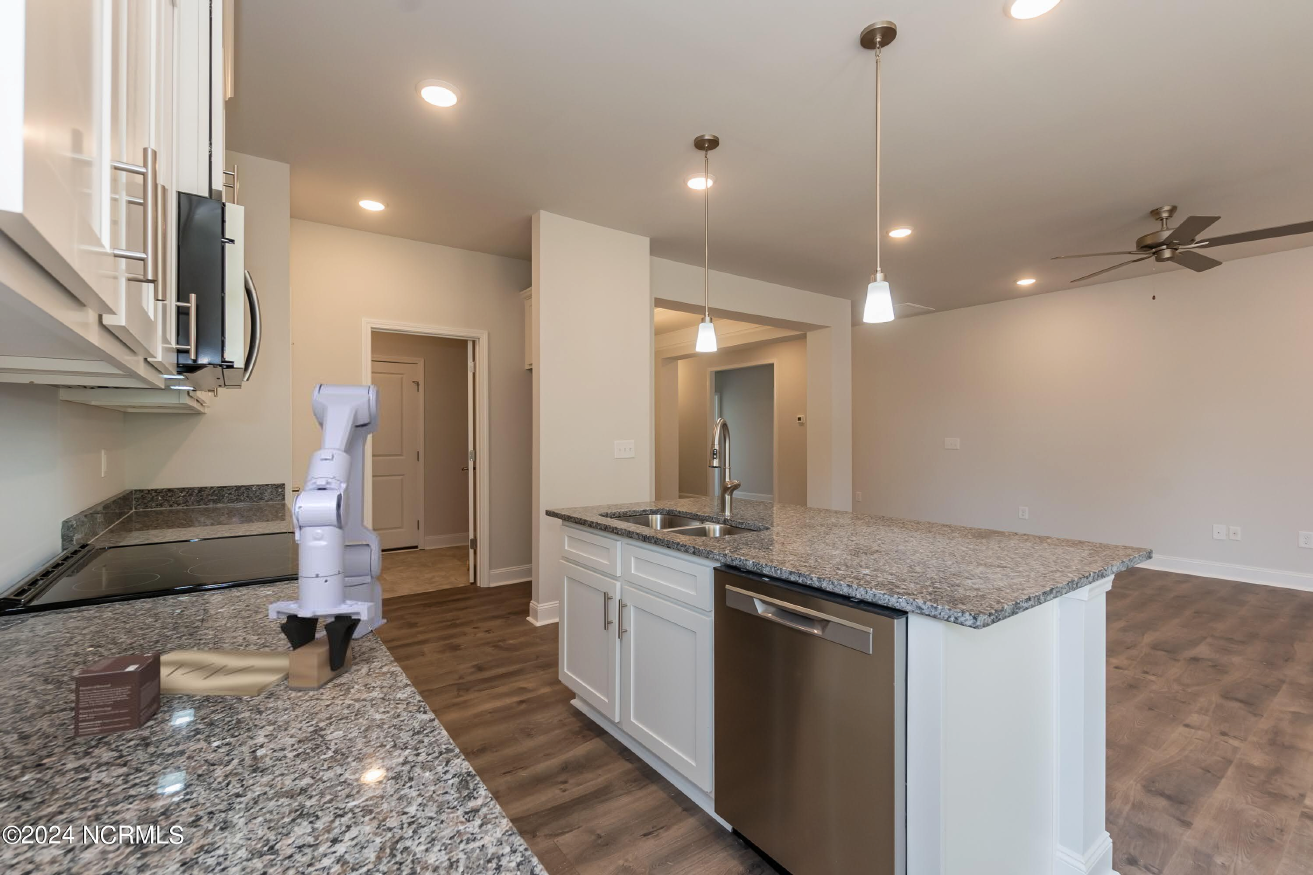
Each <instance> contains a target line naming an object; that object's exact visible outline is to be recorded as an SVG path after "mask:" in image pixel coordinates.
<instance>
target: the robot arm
mask: <svg viewBox="0 0 1313 875" xmlns="http://www.w3.org/2000/svg"><path fill="white" fill-rule="evenodd" d="M311 394H312V395H311V407H312V413H313V416H314V417H315V419H316V421H317V423H318V425H319V427H320V429H321V431H322V432H321V433H322V434H321V445H320V449H319V450H317V451H315V452H314V453H313V454H312V455H311V457H310V459H309V463H308V466H307V467H308V468H307V472H306V476H305V479H304V480H305V481H304V484H303V489H302V492H301V493H300V494H299V493H297V494H295V496H294V499H293V504H292V511H291V512H292V521H293V522H292V523H293V526H294V535H295V536H294V538H295V539H294V540H295V543H296V544H298V600H289V601H277V602H274V603H272V604H269V605H268V619H270V620H273V619H278V618H286V619H285V622H283V623H281V624H280V627H279V628H280V631H281V633H282V634H283V635H284V636H285V637H286V639H287V641H288V642H289V644H290V646H291V648H292V651H295V650H296V649H298V648H300V647H302V646H304V645H306V644H308V643H310V642H312V641H314V640H315V639H317V638H319V637H321V636H323V635H325V634H327V638H328V642H329V650H330V669H331V671H337V670H339V669H340V668H342V667H343V666H344V662H345V658H346V654H347V650H348V647H349V644H350V641H351V639H356V640H357V639H361V638H362V637H364V636H365V635H367V634H369V633H371V632H372V631H374V630H375V629H377V628H379V627H380V626H383V625H385V623H387V619H385V618H383V590H382V586H381V583H380V582H379V580H378V579H377V578H378V576H379V575H380V574H381V572H382V571H381V570H382V557H383V556H382V547H381V537H380V535H379V533H377V531H374V530H373V529H371V528H369V527H368V526H366V525H365V472H366V471H365V469H366V468H365V467H366V465H365V462H366V461H365V458H366V444H367V441H368V436H369V435H371V434H374V433H376V432H378V430H379V428H378V427H379V426H380V402H381V401H380V391H379V388H378V387H377V386H376V385H375V384H370V385H365V384H363V385H362V384H358V385H357V384H329V383H327V384H325V383H324V384H323V383H319V382H318V383H316V385H314V387H313V389H312V393H311ZM346 543H347V544H346ZM349 543H355V544H349ZM357 543H358V544H357ZM319 619H326V623H325V624H323V625H324V626H323V627H324V630H322V631H320V632H318V633H316V632H317V629H318V623H319ZM365 621H366V622H365ZM366 623H367V624H368V625H369V626H370V628H371V629H372V631H371V630H370V629H369V627H368V625H367V624H366Z"/></svg>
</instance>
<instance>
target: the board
mask: <svg viewBox="0 0 1313 875" xmlns="http://www.w3.org/2000/svg"><path fill="white" fill-rule="evenodd" d="M291 652H293V650H292V651H289V650H288V651H286V650H279V651H278V650H232V649H231V650H225V649H176V650H174V651H170V652H169V653H166V654H164V655H160V661H161V666H160V668H161V673H160V676H161V687H160V695H185V696H186V695H188V696H189V695H192V696H195V695H196V696H233V697H234V696H237V697H238V696H239V697H240V696H242V697H244V696H245V697H258V696H259V695H261V694H263V693H265V692H267V691H268V690H269V689H272V688H273V687H275V686H277V685H278V684H280V683H282V682H284V681H286V680H287V679H289V653H291ZM286 678H287V679H286Z"/></svg>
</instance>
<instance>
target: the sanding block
mask: <svg viewBox="0 0 1313 875" xmlns="http://www.w3.org/2000/svg"><path fill="white" fill-rule="evenodd" d="M352 639H353V638H352ZM352 639H351V641H350V644H349V647H348V650H347V654H346V658H345V662H344V666H343V667H342V668H340V669H339V670H337V671H331V669H330V650H329V642H328V638H327V634H325V635H323V636H321V637H319V638H315V640H314V641H312V642H310V643H308V644H306V645H304V646H302V647H300V648H298V649H296V650H295V651H293V650H292V651H293V652H291V653H289V678H288V690H289V691H303V692H306V691H308V692H309V691H311V692H313V691H314V692H315V691H316V692H317V691H320V690H321V689H322V688H323V687H325V686H327V685H328V684H330V683H331V682H333V681H334V680H336V679H337V678H338V677H340V676H342V675H343V674H344V673H346V672H348V671H349V670H351V669H352V663H353V662H352V649H353V648H352Z"/></svg>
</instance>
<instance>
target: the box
mask: <svg viewBox="0 0 1313 875" xmlns="http://www.w3.org/2000/svg"><path fill="white" fill-rule="evenodd" d="M161 656H162V655H161V652H159V651H156V652H148V653H141V654H140V653H139V654H130V655H121V656H110V657H104V658H103V657H102V658H101V659H99V660H98V661H96V662H95V663H93V664H92V665H89V666H88V667H87V668H85V669H84V670H83V671H81V672H80V673H78V674H76V675H75V676H74V679H75V680H74V681H75V687H74V689H75V690H74V729H73V730H74V731H73V732H74V733H73V734H74V737H73V738H74V739H76V740H80V739H86V738H93V737H100V736H104V735H106V736H107V735H110V734H111V735H112V734H120V733H128V732H134V731H138V730H140V729H141V728H142V727H143V726H144V725H145V724H146V723H147V722H148V721H149V719H150V718H151V717H153V716H154V715H155V714H156V712H157V711H159V710H160V709H161V694H160V687H161V676H160V673H161V668H160V666H161V661H160V657H161Z"/></svg>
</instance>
